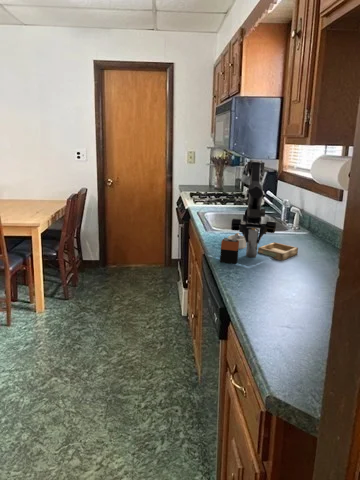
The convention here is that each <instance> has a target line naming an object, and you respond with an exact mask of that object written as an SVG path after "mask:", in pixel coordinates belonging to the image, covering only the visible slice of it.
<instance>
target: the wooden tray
mask: <svg viewBox="0 0 360 480" xmlns="http://www.w3.org/2000/svg"><path fill="white" fill-rule="evenodd" d="M298 251H299V247H296V246H292V245H288V244H284V243H280V242H272V243H271V242H270V243H268V244H265V245H262V246H259V247H257V253H258V254H263V255H265V256H270V257H271V258H272V259H275V260H279V261H284V260H287V259H289V258H292V257H294V256H297V255H298Z"/></svg>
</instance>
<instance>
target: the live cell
mask: <svg viewBox="0 0 360 480" xmlns="http://www.w3.org/2000/svg"><path fill="white" fill-rule="evenodd" d="M259 232H260V229H259V228H249V229H248V237H247V243H246V248H245V249H246V251H245V252H246V253H245V257H247V258H257V253H258V237H259Z"/></svg>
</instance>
